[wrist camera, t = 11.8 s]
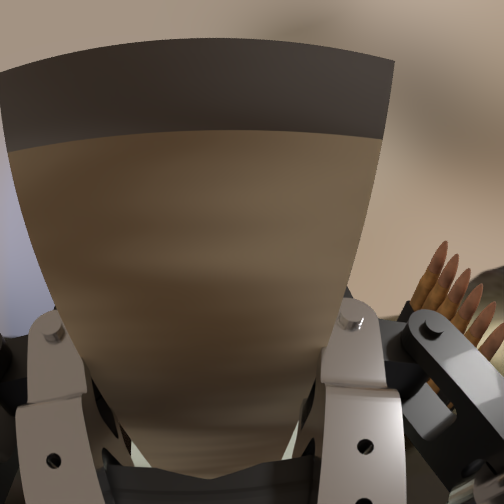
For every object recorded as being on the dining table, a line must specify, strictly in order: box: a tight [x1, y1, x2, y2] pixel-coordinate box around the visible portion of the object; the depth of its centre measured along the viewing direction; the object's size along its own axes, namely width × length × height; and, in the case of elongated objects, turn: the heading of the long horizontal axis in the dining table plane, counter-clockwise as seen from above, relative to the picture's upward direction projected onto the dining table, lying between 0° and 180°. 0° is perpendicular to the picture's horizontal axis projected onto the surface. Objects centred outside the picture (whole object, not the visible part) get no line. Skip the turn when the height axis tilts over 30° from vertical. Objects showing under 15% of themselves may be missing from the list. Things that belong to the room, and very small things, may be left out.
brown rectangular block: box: [0, 38, 395, 479], centre depth 8 cm, size 4×4×14 cm
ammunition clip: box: [396, 241, 504, 412], centre depth 22 cm, size 11×2×12 cm, turn 5°
